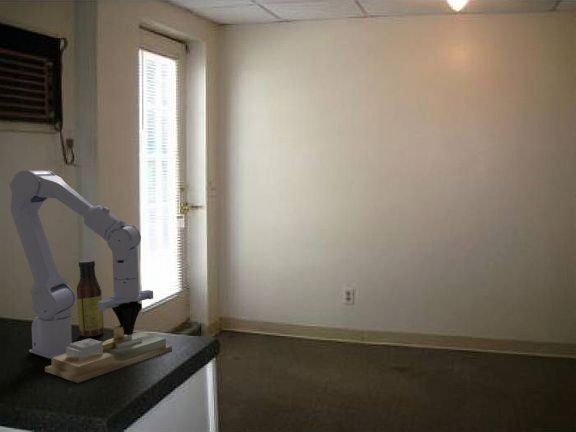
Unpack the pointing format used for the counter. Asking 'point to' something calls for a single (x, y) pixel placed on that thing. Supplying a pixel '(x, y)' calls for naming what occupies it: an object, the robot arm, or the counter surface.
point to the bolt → (115, 337)
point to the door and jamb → (108, 359)
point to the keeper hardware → (95, 347)
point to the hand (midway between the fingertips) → (127, 334)
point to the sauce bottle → (89, 301)
